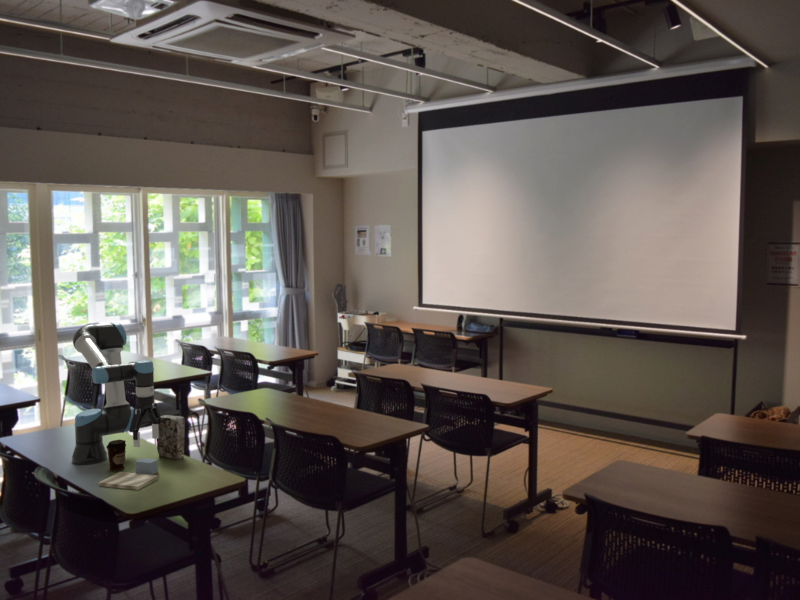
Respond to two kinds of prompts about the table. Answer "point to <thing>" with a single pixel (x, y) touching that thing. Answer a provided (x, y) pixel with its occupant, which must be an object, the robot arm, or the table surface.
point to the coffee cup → (116, 455)
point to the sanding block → (146, 466)
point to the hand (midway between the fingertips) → (146, 442)
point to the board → (128, 480)
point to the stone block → (171, 437)
